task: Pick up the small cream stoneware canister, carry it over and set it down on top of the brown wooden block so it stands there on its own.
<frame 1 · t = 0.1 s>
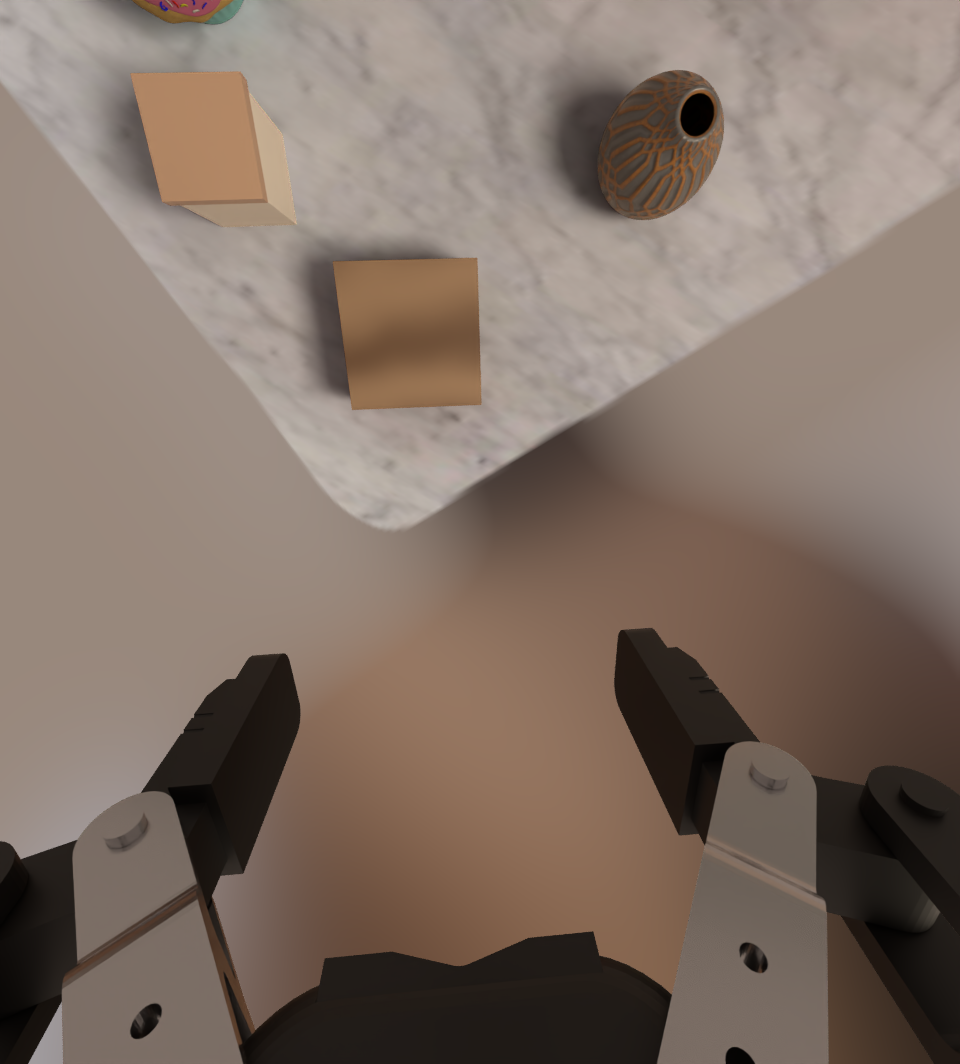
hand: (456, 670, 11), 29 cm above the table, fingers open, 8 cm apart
brown wooden block: (416, 338, 36), on the table
vase: (634, 172, 33), on the table
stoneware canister: (251, 182, 31), on the table
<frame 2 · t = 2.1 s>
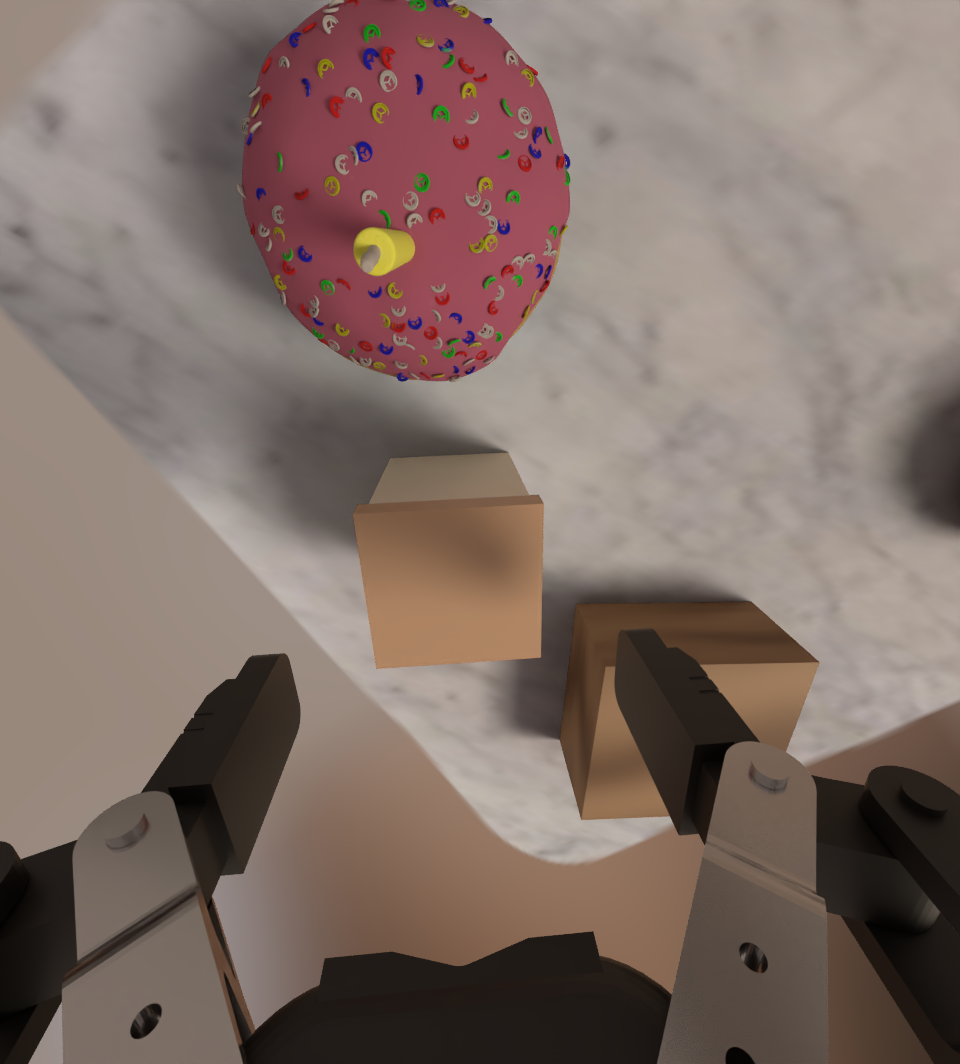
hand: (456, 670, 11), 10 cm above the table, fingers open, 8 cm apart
brown wooden block: (648, 671, 25), on the table
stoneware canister: (453, 510, 21), on the table
cupcake: (420, 243, 17), on the table
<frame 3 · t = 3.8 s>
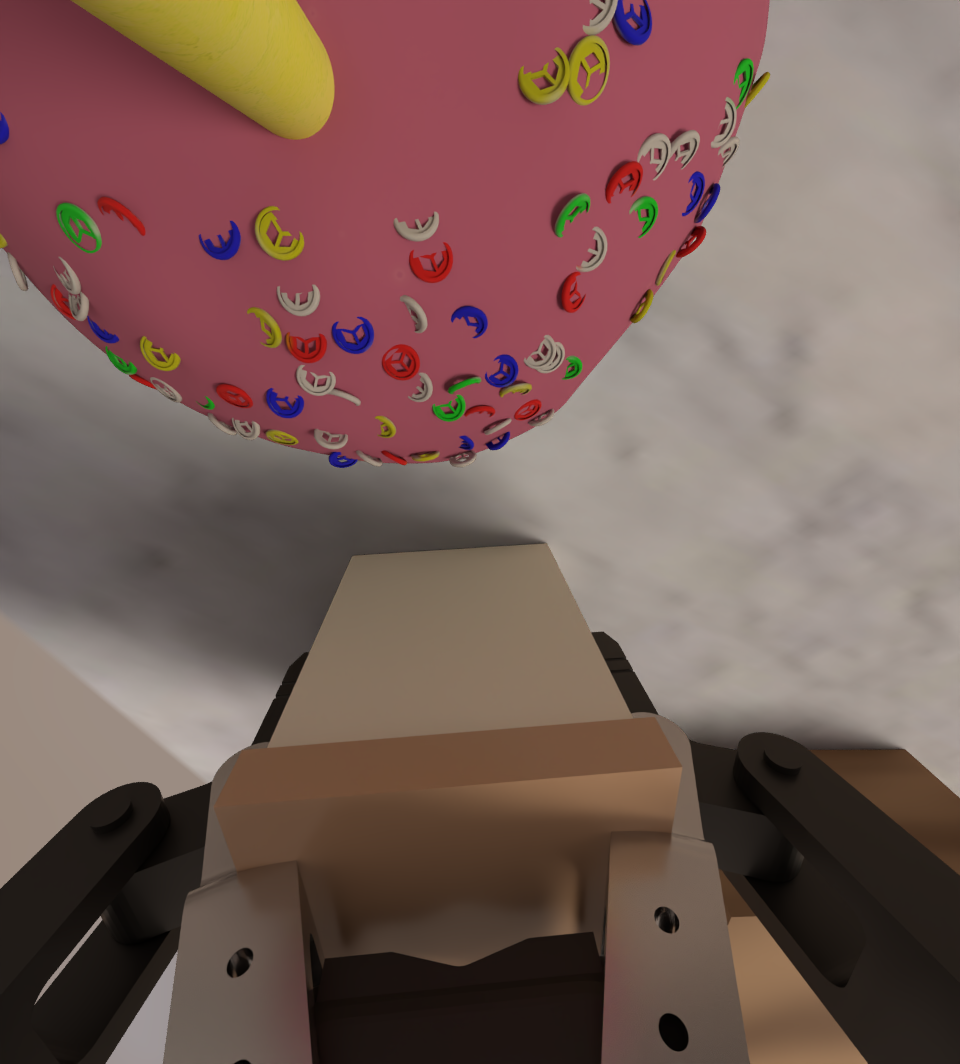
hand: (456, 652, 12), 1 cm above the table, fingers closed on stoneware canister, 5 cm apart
brown wooden block: (739, 835, 17), on the table
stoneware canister: (456, 631, 13), on the table, touching gripper
cupcake: (394, 189, 9), on the table
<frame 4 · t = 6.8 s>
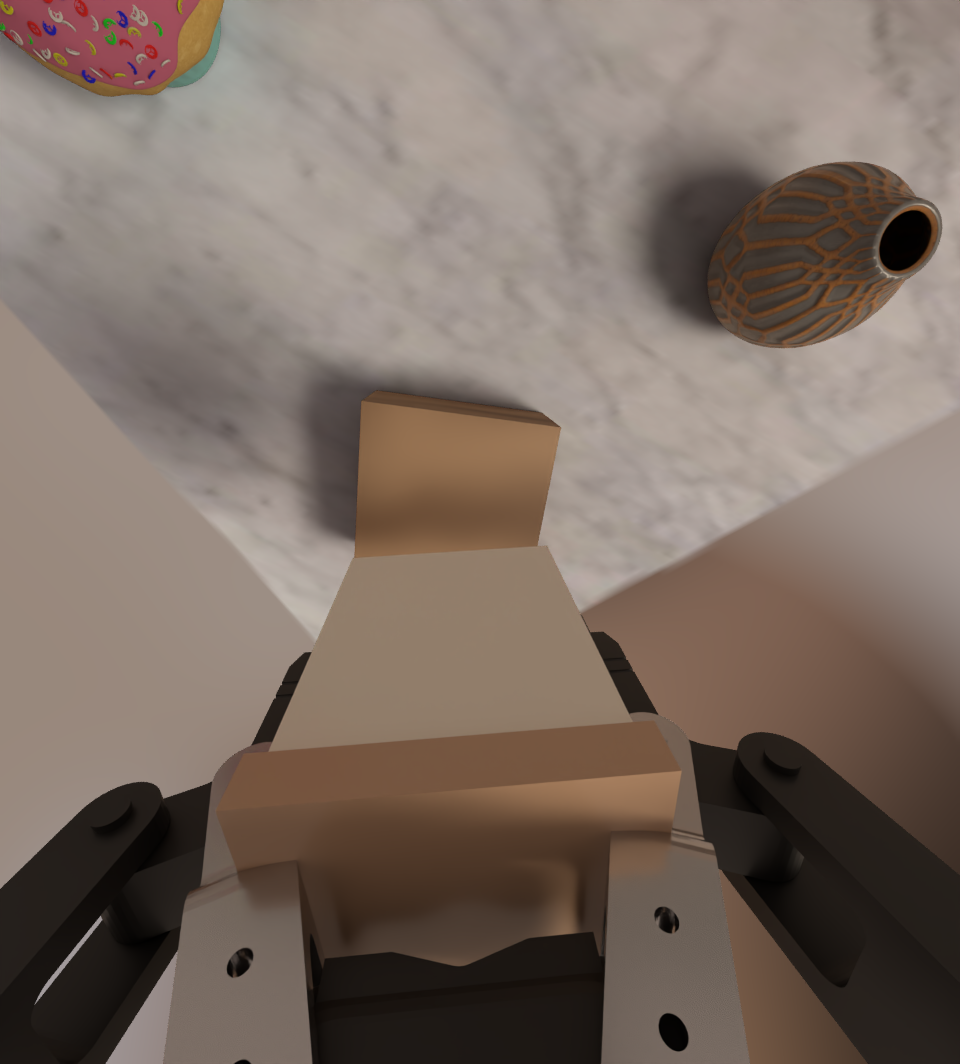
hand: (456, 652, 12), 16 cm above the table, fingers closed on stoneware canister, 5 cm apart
brown wooden block: (451, 480, 27), on the table
vase: (749, 275, 24), on the table
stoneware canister: (456, 633, 13), point 15 cm above the table, touching gripper
cupcake: (158, 13, 19), on the table
when the fingers open (6 cm above the table, at t = 9.7 s): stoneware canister stays where it is, resting on brown wooden block.
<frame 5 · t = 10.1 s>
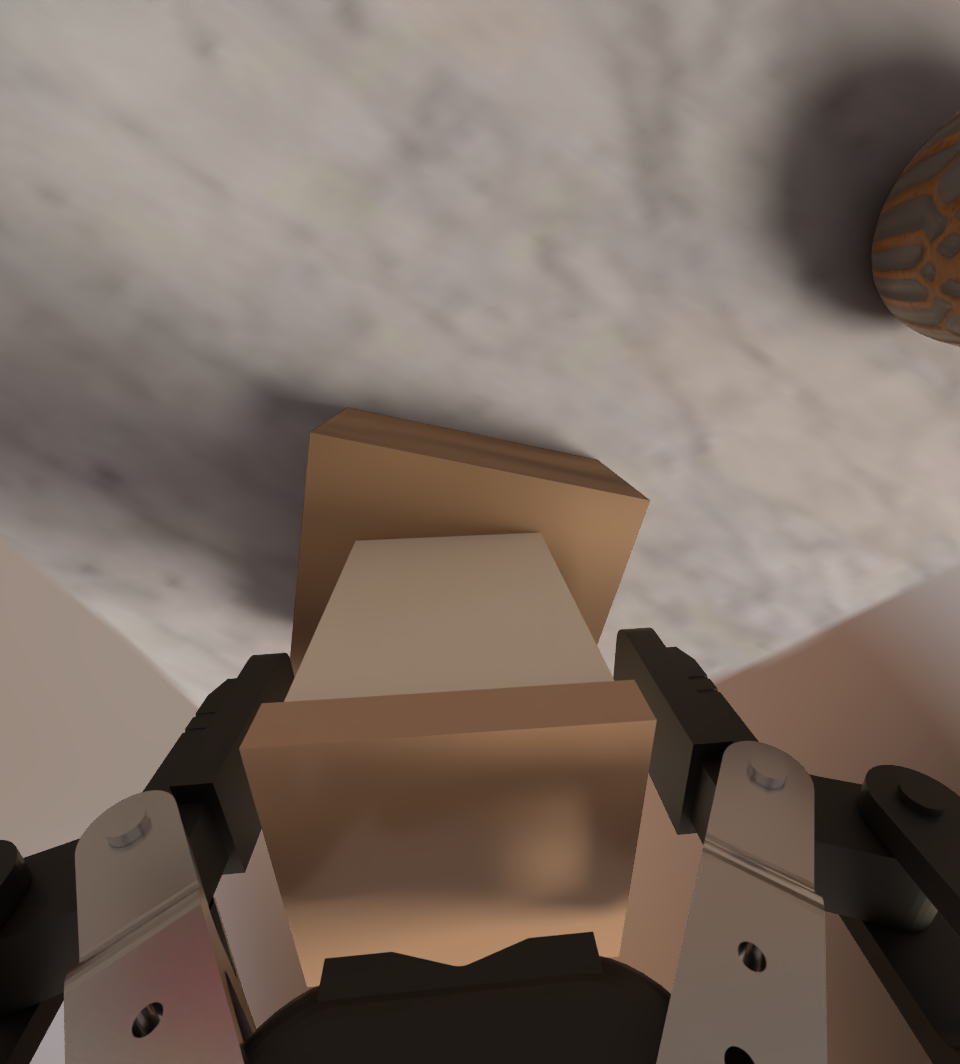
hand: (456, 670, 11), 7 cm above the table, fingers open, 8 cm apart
brown wooden block: (452, 546, 18), on the table, touching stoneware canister
vase: (928, 234, 15), on the table
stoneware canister: (452, 615, 14), point 5 cm above the table, touching brown wooden block
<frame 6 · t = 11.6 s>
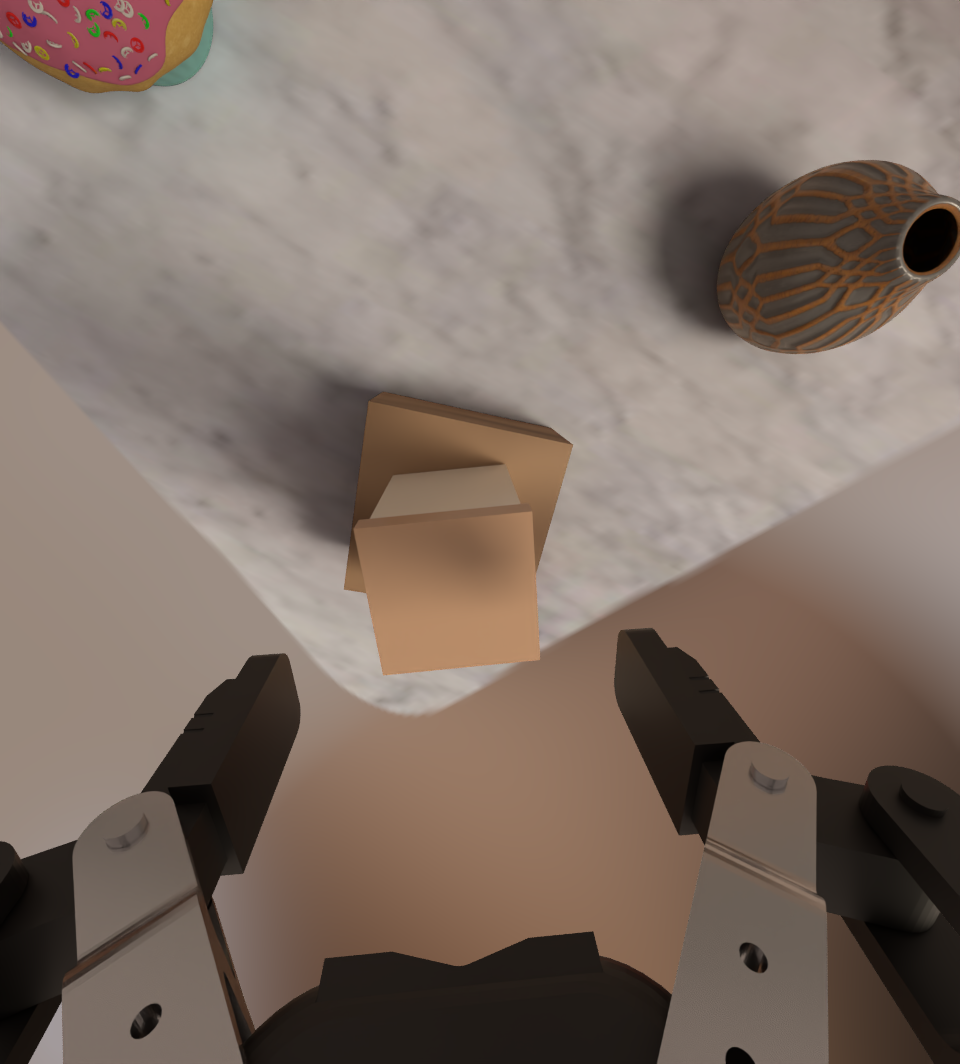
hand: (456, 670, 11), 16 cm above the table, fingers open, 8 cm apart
brown wooden block: (452, 490, 26), on the table, touching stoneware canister
vase: (760, 279, 23), on the table
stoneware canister: (455, 522, 22), point 5 cm above the table, touching brown wooden block
cupcake: (149, 10, 18), on the table
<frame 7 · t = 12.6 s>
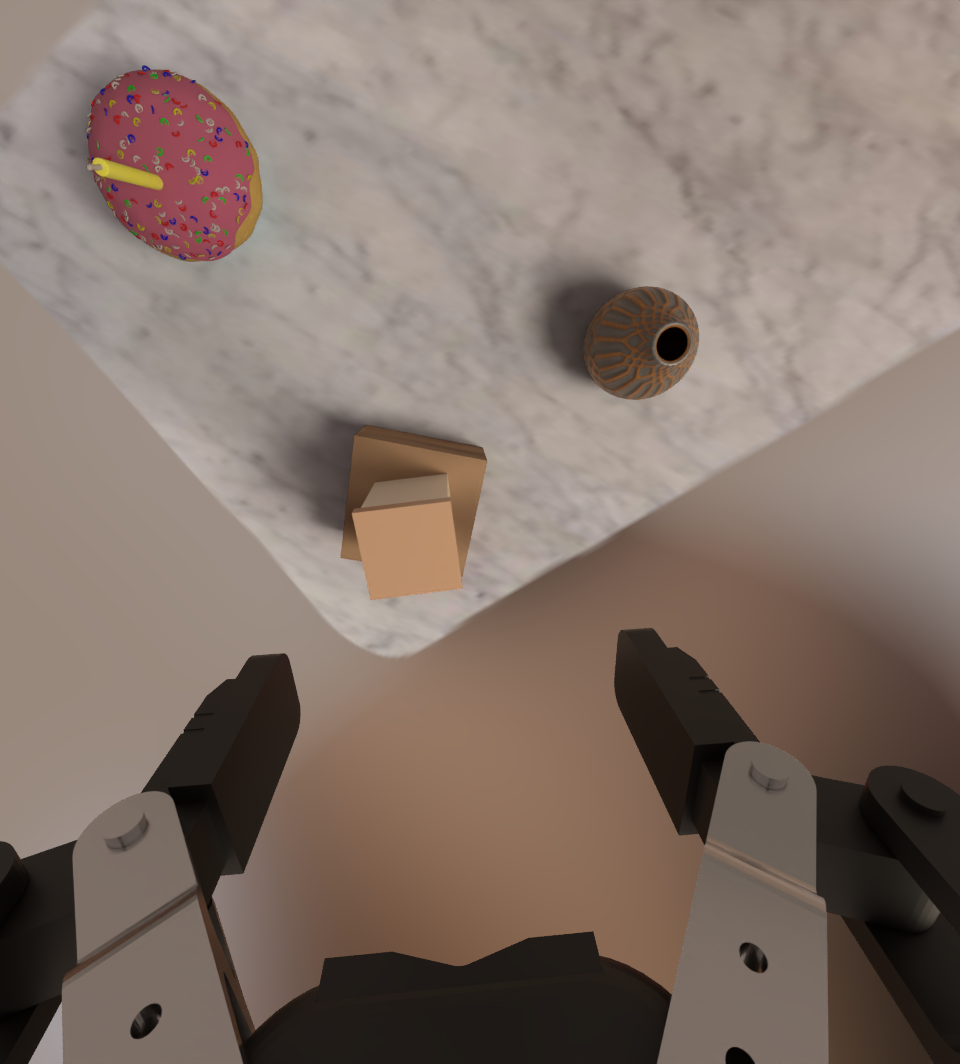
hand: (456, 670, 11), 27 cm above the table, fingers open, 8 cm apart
brown wooden block: (416, 491, 38), on the table
vase: (619, 346, 35), on the table
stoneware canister: (416, 512, 33), point 5 cm above the table
cupcake: (216, 198, 30), on the table
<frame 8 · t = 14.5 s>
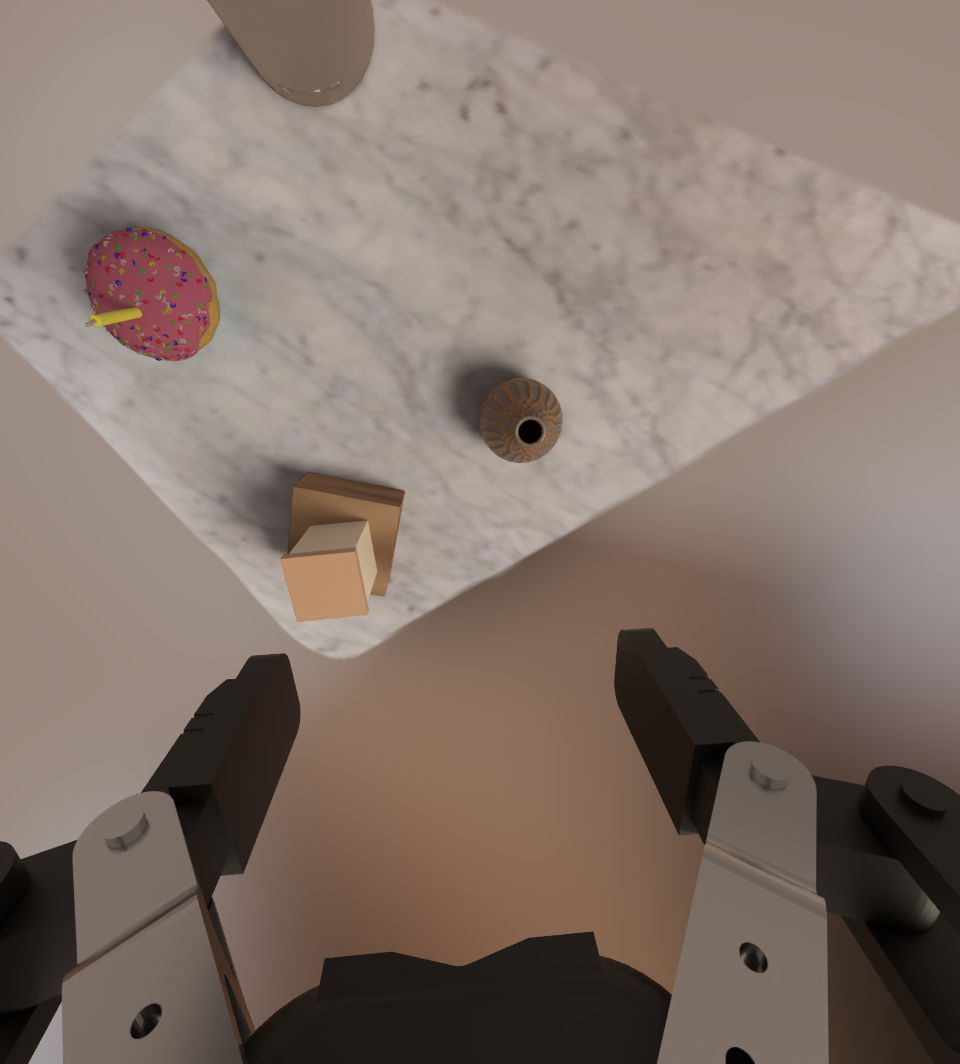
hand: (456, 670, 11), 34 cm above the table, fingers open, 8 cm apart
brown wooden block: (352, 524, 46), on the table, touching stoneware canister
vase: (514, 414, 43), on the table
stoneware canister: (344, 549, 42), point 5 cm above the table, touching brown wooden block
cupcake: (187, 302, 38), on the table
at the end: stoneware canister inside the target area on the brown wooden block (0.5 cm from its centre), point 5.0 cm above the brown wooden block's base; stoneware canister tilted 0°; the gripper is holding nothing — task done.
